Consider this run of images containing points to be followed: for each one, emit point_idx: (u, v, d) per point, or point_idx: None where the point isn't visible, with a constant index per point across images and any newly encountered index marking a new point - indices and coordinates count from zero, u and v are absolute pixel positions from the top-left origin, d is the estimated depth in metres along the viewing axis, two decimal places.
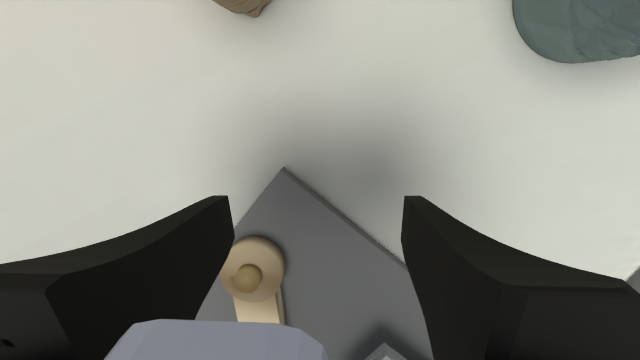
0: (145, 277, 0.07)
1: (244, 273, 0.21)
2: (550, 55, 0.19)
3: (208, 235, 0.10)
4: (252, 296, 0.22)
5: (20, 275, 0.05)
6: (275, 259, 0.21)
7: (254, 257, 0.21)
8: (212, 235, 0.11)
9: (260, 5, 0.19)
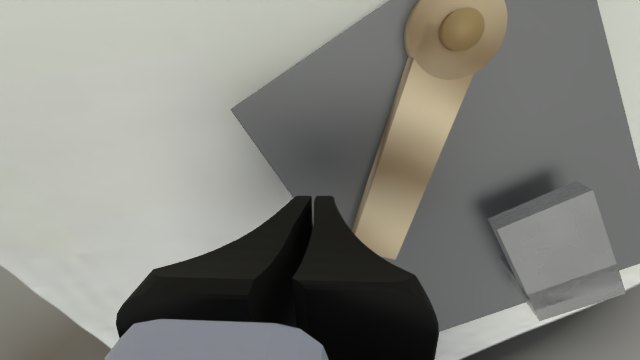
0: (281, 280, 0.07)
1: (470, 12, 0.14)
2: None
3: (304, 236, 0.10)
4: (441, 68, 0.15)
5: (208, 280, 0.05)
6: (506, 17, 0.14)
7: (480, 2, 0.14)
8: (305, 236, 0.10)
9: None
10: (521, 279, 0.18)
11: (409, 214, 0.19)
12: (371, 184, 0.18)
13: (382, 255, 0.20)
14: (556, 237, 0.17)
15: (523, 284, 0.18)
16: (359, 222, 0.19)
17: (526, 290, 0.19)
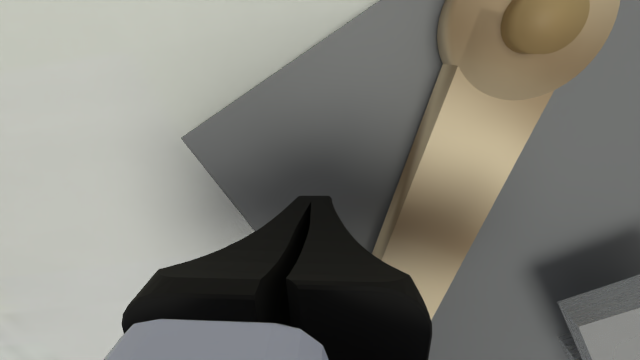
0: (285, 281, 0.07)
1: None
2: None
3: (307, 236, 0.10)
4: (500, 82, 0.10)
5: (213, 280, 0.05)
6: None
7: None
8: None
9: None
10: None
11: (439, 290, 0.13)
12: (384, 249, 0.13)
13: None
14: None
15: None
16: None
17: None
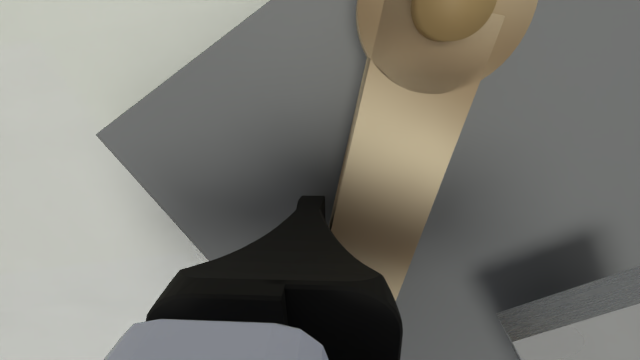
0: None
1: None
2: None
3: None
4: (420, 75, 0.09)
5: (238, 281, 0.05)
6: None
7: None
8: None
9: None
10: None
11: None
12: None
13: None
14: (611, 356, 0.10)
15: None
16: None
17: None
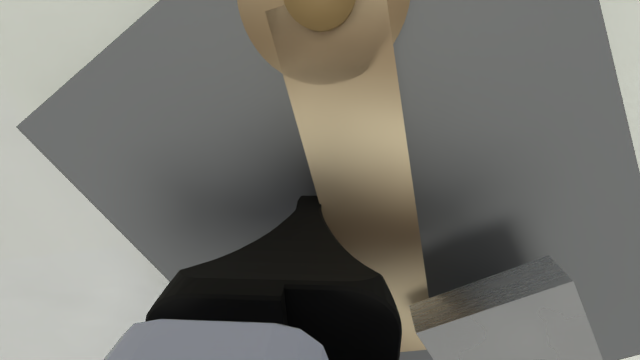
0: None
1: None
2: None
3: None
4: (333, 66, 0.09)
5: (238, 280, 0.05)
6: None
7: None
8: None
9: None
10: None
11: (418, 286, 0.12)
12: None
13: (413, 349, 0.13)
14: (514, 347, 0.10)
15: None
16: None
17: None
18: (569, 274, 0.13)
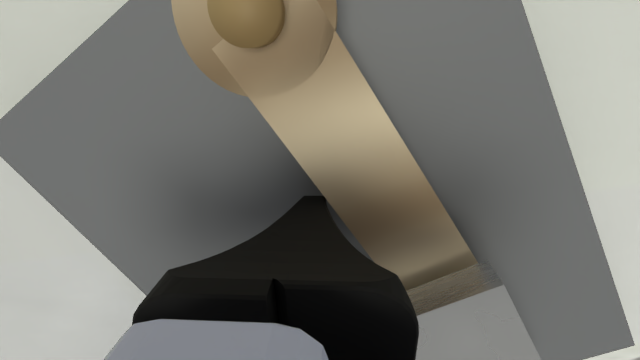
0: None
1: None
2: None
3: None
4: (289, 72, 0.09)
5: (224, 280, 0.05)
6: None
7: None
8: None
9: None
10: None
11: (462, 253, 0.11)
12: None
13: None
14: (455, 349, 0.10)
15: None
16: None
17: None
18: (522, 277, 0.13)
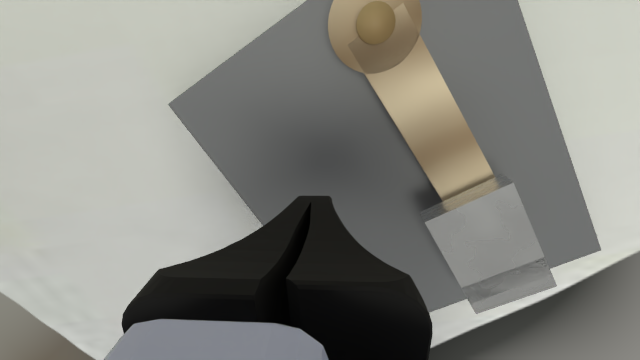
0: (285, 280, 0.07)
1: (367, 9, 0.14)
2: None
3: (307, 236, 0.10)
4: (391, 58, 0.15)
5: (213, 280, 0.05)
6: None
7: None
8: None
9: None
10: (453, 272, 0.18)
11: (486, 172, 0.17)
12: (429, 179, 0.18)
13: None
14: (483, 230, 0.17)
15: (456, 277, 0.19)
16: None
17: (460, 283, 0.19)
18: (523, 199, 0.20)
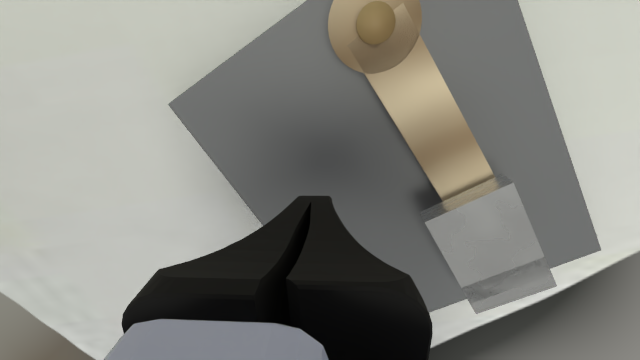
0: (285, 280, 0.07)
1: (367, 9, 0.14)
2: None
3: (307, 236, 0.10)
4: (391, 58, 0.15)
5: (213, 280, 0.05)
6: None
7: None
8: None
9: None
10: (453, 272, 0.18)
11: (486, 172, 0.17)
12: (429, 179, 0.18)
13: None
14: (483, 230, 0.17)
15: (456, 277, 0.19)
16: None
17: (460, 283, 0.19)
18: (523, 199, 0.20)
